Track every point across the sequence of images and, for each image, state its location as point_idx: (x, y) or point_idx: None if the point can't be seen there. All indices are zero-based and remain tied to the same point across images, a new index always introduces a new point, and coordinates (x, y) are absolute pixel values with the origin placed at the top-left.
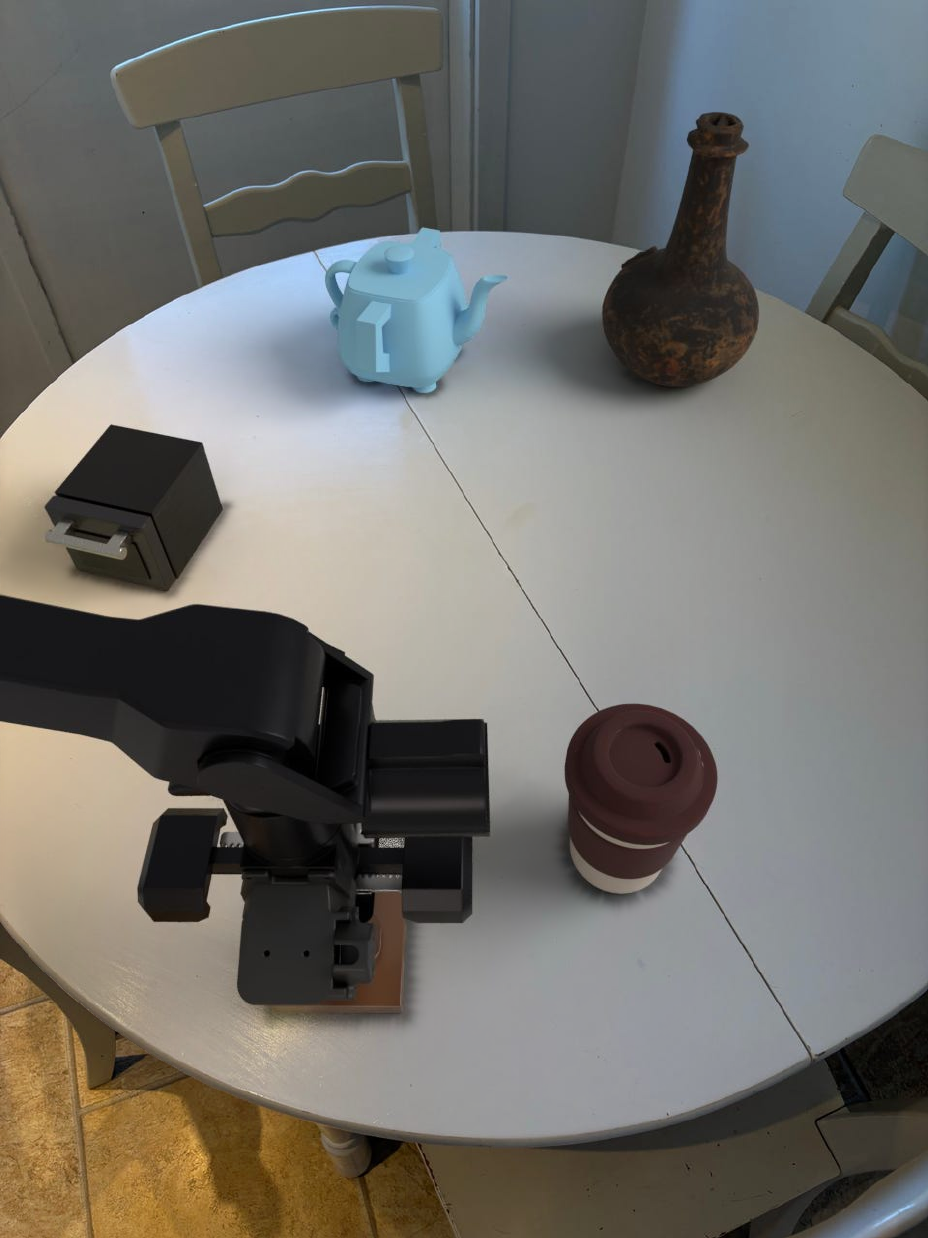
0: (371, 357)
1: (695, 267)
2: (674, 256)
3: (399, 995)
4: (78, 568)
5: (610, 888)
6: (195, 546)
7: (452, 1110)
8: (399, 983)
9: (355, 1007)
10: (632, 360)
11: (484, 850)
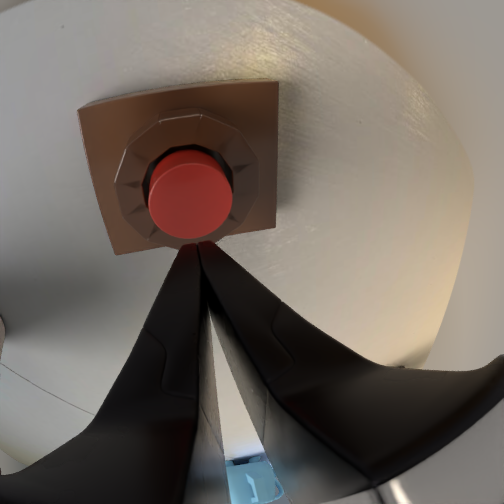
0: (257, 485)
1: None
2: None
3: (81, 125)
4: (403, 367)
5: None
6: None
7: (14, 22)
8: (86, 141)
9: (144, 93)
10: None
11: (62, 299)
